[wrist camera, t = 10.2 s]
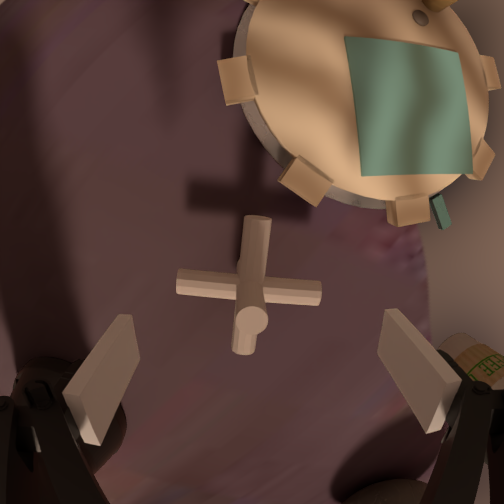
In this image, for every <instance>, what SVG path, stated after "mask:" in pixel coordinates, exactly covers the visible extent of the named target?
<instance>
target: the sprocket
mask: <svg viewBox="0 0 504 504" xmlns="http://www.w3.org/2000/svg"><path fill="white" fill-rule="evenodd" d="M244 1H246V2H248V3H250V4H252V5H254V6H255V7H256V8H255V10H254V12H253V15H252V18H251V21H250V24H249V29H248V35H247V41H246V56H240V57H234V58H228V59H223V60H218V61H217V63H218V68H219V73H220V78H221V83H222V88H223V93H224V98H225V102H226V106H227V105H232V104H237V103H243V102H248V101H254V102H255V104H256V107H257V109H258V111H259V114H260V116H261V117H262V119H263V121H264V122H265V124H266V126H267V127H268V129H269V131H270V132H271V134H272V135H273V136H274V137H275V139H276V140H277V141H278V143H279V144H280V145H281V146H282V147H283V148H284V150H285V151H286V152H287V153H288V154H289V155H290V156H291V157H292V159H291V161H290V162H289V164H288V165H287V167H286V168H285V170H284V171H283V172H282V174H281V175H280V177H279V178H278V180H277V181H279V182H280V183H282V184H283V185H285V186H286V187H287V188H289V189H290V190H292V191H293V192H295V193H296V194H297V195H299V196H300V197H302V198H303V199H304V200H306V201H307V202H309V203H310V204H312V205H313V206H315V207H317V205H318V204H319V202H320V201H321V200H322V198H323V197H324V195H325V194H326V192H327V191H328V189H329V188H330V187H331V185H333V186H336V187H338V188H340V189H343V190H346V191H349V192H352V193H355V194H358V195H361V196H364V197H370V198H375V199H380V200H385V202H386V211H387V221H388V223H390V224H392V225H394V226H397V227H401V226H406V225H411V224H416V223H421V222H426V221H430V209H429V196H428V195H430V194H432V193H435V192H437V191H439V190H441V189H443V188H444V187H446V186H448V185H449V184H450V183H452V182H453V181H454V180H456V179H457V178H458V177H459V176H460V175H461V174H466V175H467V177H468V178H469V179H474V180H481V181H482V180H483V178H484V176H485V174H486V172H487V170H488V168H489V166H490V164H491V162H492V160H493V158H494V156H495V154H494V152H493V151H492V150H491V148H490V147H489V146H488V144H487V143H486V142H485V141H484V139H483V137H484V134H485V130H486V125H487V119H488V109H489V108H488V107H489V96H488V90H494V89H500V88H501V86H500V81H499V77H498V73H497V69H496V65H495V61H494V58H493V57H489V56H483V55H479V52H478V50H477V48H476V46H475V43H474V41H473V40H472V38H471V36H470V34H469V32H468V30H467V29H466V27H465V26H464V24H463V23H462V22H461V20H460V19H459V17H458V16H457V15H456V14H455V12H454V11H453V10H452V9H451V8H450V7H449V6H450V5H452V4H453V3H455V2H456V1H458V0H244Z"/></svg>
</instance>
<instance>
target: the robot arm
mask: <svg viewBox="0 0 504 504" xmlns="http://www.w3.org/2000/svg"><path fill="white" fill-rule="evenodd" d="M377 354H378V356H379V357H380V359H381V360H382V362H383V364H384V365H385V367H386V368H387V370H388V372H389V373H390V375H391V376H392V378H393V380H394V381H395V383H396V385H397V386H398V388H399V389H400V391H401V393H402V394H403V396H404V398H405V399H406V401H407V403H408V404H409V406H410V408H411V409H412V411H413V413H414V414H415V416H416V418H417V419H418V421H419V423H420V424H421V426H422V428H423V430H424V431H425V433H426V434H428V433H431V432H435V431H438V430H441V428H442V426H443V424H444V421H445V420H446V421H447V423H448V424H449V427H448V429H447V431H446V433H445V435H444V437H443V439H442V441H441V443H443V444H442V447H441V450H440V452H439V455H438V458H437V461H436V464H435V466H434V469H433V472H432V474H431V477H430V479H429V482H428V484H427V487H426V489H425V492H424V494H423V496H422V499H421V501H420V503H419V504H474V501H475V497H476V493H477V489H478V485H479V481H480V477H481V472H482V468H483V463H484V458H485V453H486V448H487V458H488V469H489V483H490V504H504V389H501V390H493V389H492V388H491V386H490V385H488V384H487V383H485V382H482V381H473V380H472V379H471V378H470V377H469V376H468V375H467V374H466V373H465V371H464V370H463V369H462V368H461V367H460V366H458V364H457V363H456V362H455V361H454V359H453V358H452V357H451V356H450V355H449V354H448V353H446V352H444V351H442V350H441V349H439V350H435V349H434V347H433V346H432V345H431V344H430V343H429V342H428V341H427V340H426V339H425V338H424V336H423V335H422V334H421V333H420V332H419V331H418V330H417V329H416V328H415V327H414V326H413V325H412V324H411V322H410V321H409V320H408V319H407V318H406V317H405V316H404V315H403V314H402V313H401V312H400V311H399V310H398V309H385V312H384V318H383V324H382V329H381V335H380V340H379V345H378V350H377ZM139 361H140V355H139V350H138V345H137V340H136V335H135V330H134V324H133V319H132V315H124V314H118V316H117V317H116V318H115V320H114V321H113V322H112V324H111V325H110V326H109V328H108V329H107V330H106V332H105V333H104V334H103V336H102V337H101V338H100V340H99V341H98V343H97V344H96V345H95V347H94V348H93V349H92V351H91V352H90V354H89V355H88V356H87V358H86V359H85V360H80V359H78V360H77V361H75V362H74V363H72V364H71V363H69V362H67V361H64V360H61V359H57V358H52V357H38V358H35V359H32V360H30V361H29V362H28V363H27V364H26V365H25V366H24V367H23V368H22V369H21V371H20V372H19V373H18V374H17V376H16V378H15V381H14V385H13V391H12V393H11V396H10V397H9V396H0V504H110V503H109V501H108V500H107V498H106V496H105V495H104V493H103V491H102V489H101V488H100V486H99V484H98V482H97V480H96V478H95V476H94V474H95V473H96V472H97V471H98V470H99V469H100V468H101V467H102V466H103V465H104V464H105V463H106V462H107V461H108V460H109V459H110V457H111V456H112V455H113V454H115V453H116V452H117V451H118V450H119V448H120V446H121V444H122V442H123V439H124V436H125V433H126V428H127V424H126V418H125V415H124V413H123V410H122V408H121V406H120V405H119V403H120V401H121V399H122V397H123V395H124V393H125V390H126V388H127V386H128V384H129V382H130V380H131V378H132V375H133V373H134V371H135V369H136V367H137V365H138V363H139Z"/></svg>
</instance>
